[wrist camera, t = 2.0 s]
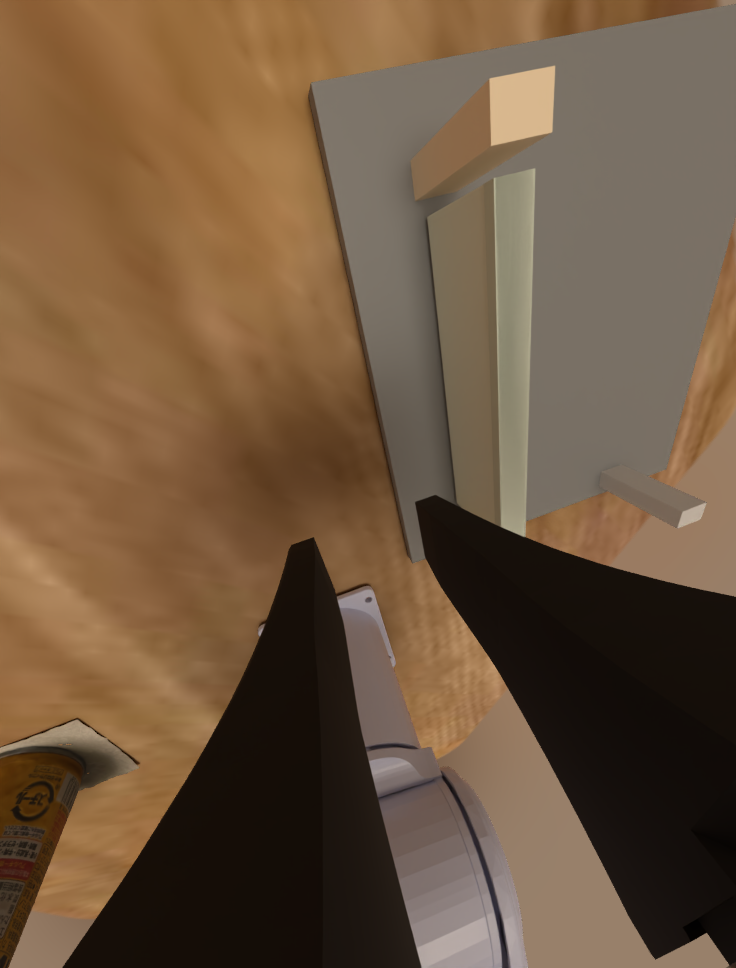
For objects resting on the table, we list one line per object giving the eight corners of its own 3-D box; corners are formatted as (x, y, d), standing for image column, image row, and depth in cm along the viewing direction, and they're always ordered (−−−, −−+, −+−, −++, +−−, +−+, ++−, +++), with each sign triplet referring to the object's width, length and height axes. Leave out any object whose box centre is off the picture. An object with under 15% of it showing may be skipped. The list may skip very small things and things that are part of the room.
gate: (476, 513, 21) (524, 560, 17) (457, 519, 21) (501, 569, 17) (456, 209, 13) (535, 168, 9) (426, 217, 13) (493, 178, 9)
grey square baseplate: (655, 464, 25) (755, 505, 20) (408, 555, 23) (449, 628, 18) (770, 8, 14) (1067, -169, 9) (308, 96, 12) (340, -75, 6)
